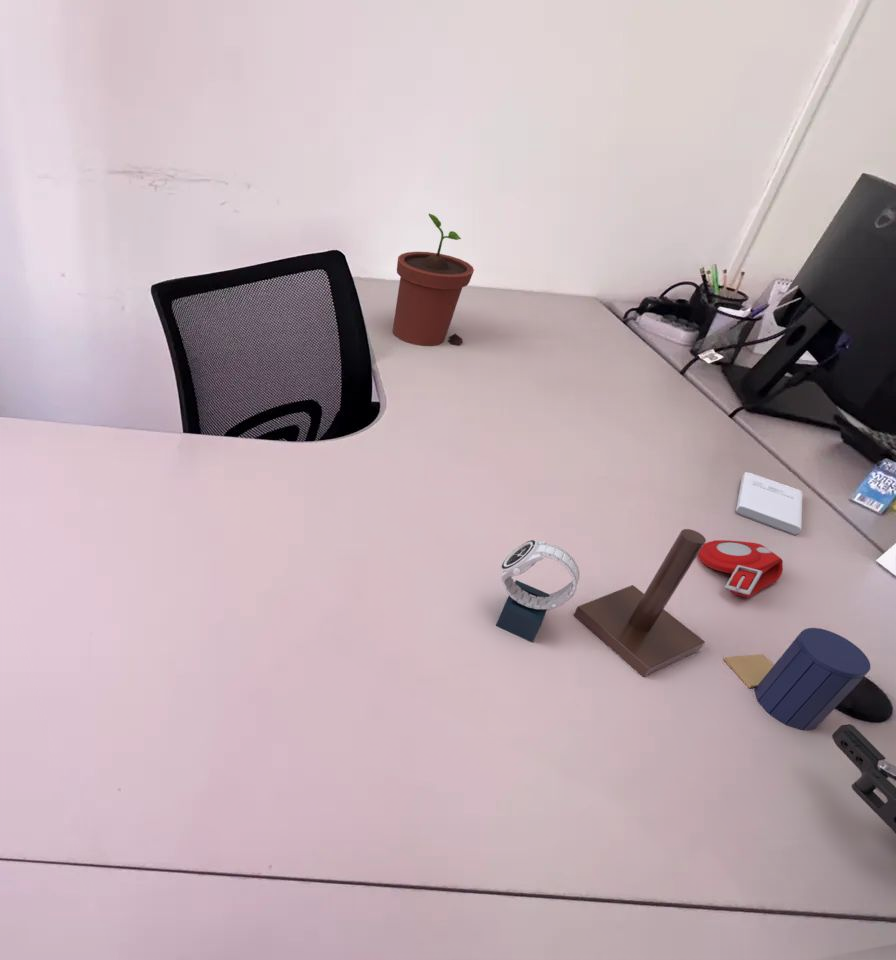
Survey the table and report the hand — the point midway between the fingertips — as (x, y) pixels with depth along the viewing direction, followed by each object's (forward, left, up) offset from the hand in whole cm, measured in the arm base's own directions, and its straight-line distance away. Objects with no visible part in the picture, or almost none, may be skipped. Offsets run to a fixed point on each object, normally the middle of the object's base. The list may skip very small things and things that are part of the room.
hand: (876, 725), depth 64 cm
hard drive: (-39, -30, -6) cm, 50 cm away
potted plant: (-28, -102, -6) cm, 106 cm away
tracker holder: (-17, -22, -6) cm, 29 cm away
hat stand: (+5, -20, -6) cm, 22 cm away
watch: (+17, -27, -6) cm, 33 cm away
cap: (-2, -8, -6) cm, 10 cm away
